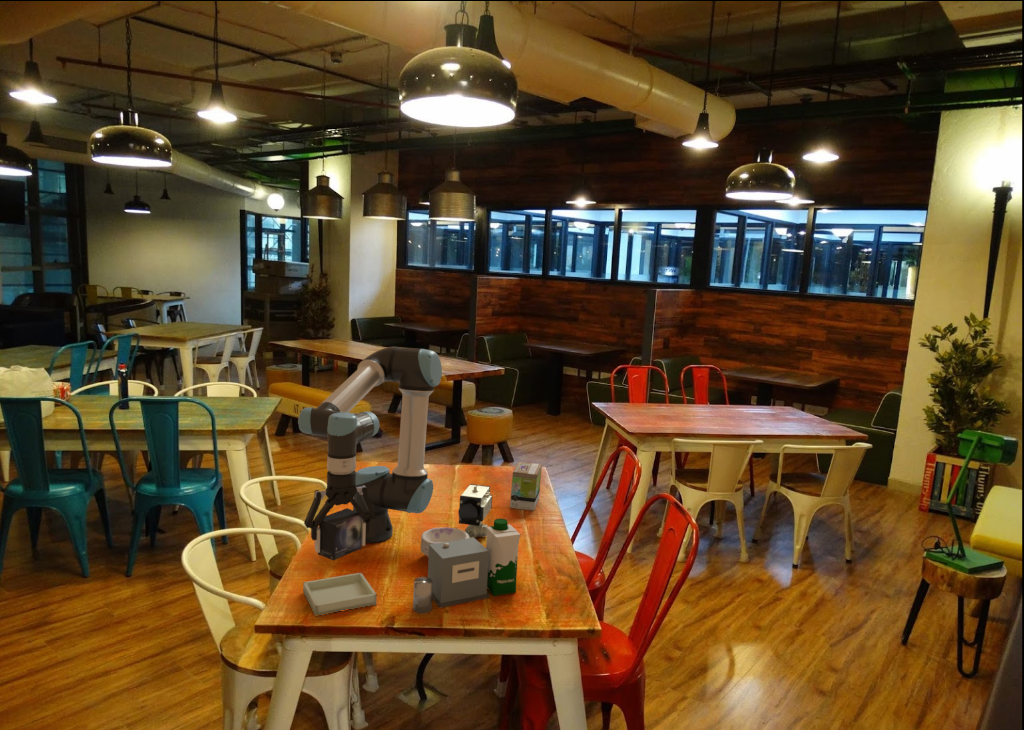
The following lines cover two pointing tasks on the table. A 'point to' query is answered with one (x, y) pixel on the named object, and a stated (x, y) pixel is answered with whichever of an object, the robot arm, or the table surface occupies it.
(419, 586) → the grey cylinder
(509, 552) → the milk carton
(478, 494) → the ball valve
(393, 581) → the table surface
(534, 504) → the tea box
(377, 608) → the table surface
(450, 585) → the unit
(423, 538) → the paper bowls
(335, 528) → the small box
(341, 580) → the tray
